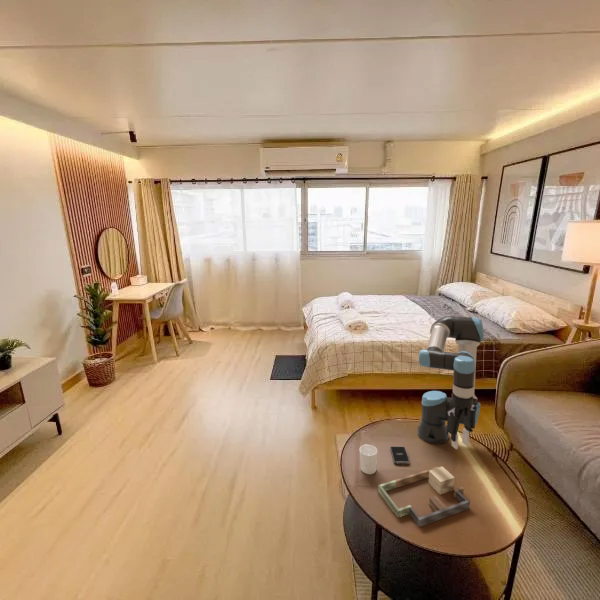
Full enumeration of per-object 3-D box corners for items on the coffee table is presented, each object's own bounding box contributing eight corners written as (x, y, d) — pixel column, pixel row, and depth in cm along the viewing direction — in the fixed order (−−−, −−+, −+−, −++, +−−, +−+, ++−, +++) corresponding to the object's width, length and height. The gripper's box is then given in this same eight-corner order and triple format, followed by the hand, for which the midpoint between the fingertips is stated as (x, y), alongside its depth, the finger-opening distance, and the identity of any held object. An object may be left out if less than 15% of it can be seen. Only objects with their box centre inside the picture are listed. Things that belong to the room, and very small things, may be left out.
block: (441, 478, 141) (442, 466, 140) (453, 490, 135) (454, 477, 134) (428, 482, 139) (428, 470, 138) (440, 494, 133) (440, 482, 132)
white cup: (366, 461, 154) (366, 442, 152) (380, 468, 149) (380, 449, 147) (356, 469, 149) (356, 450, 147) (371, 478, 143) (370, 458, 141)
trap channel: (438, 471, 145) (439, 466, 144) (475, 506, 126) (476, 499, 126) (378, 491, 136) (378, 485, 135) (407, 531, 117) (407, 524, 116)
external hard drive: (394, 465, 151) (394, 461, 151) (390, 449, 162) (390, 446, 162) (409, 465, 150) (409, 461, 150) (404, 450, 161) (404, 446, 161)
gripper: (472, 386, 138) (469, 435, 143) (438, 394, 133) (436, 445, 137) (487, 394, 131) (484, 445, 136) (451, 403, 126) (449, 456, 130)
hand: (460, 445), depth 136 cm, fingers open, 5 cm apart
